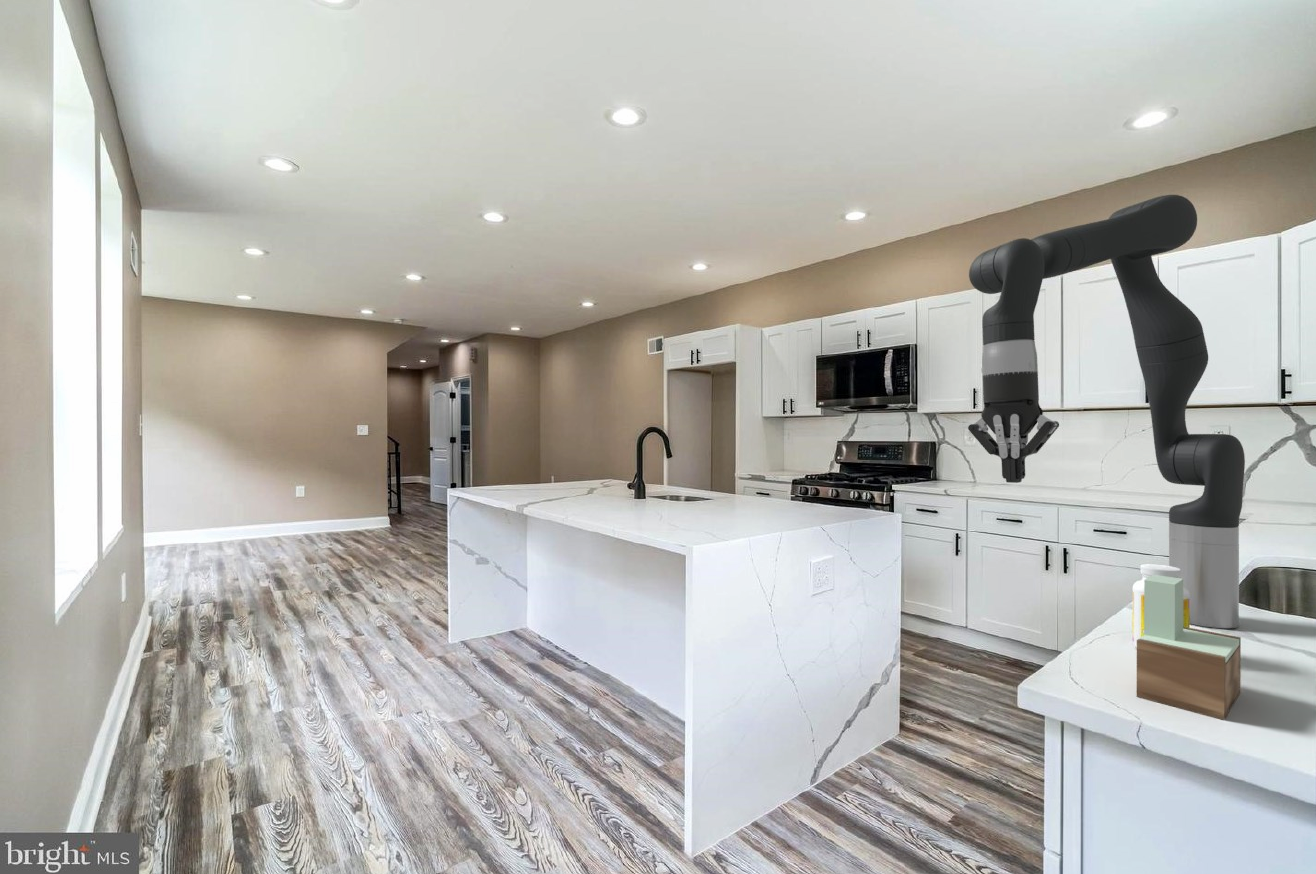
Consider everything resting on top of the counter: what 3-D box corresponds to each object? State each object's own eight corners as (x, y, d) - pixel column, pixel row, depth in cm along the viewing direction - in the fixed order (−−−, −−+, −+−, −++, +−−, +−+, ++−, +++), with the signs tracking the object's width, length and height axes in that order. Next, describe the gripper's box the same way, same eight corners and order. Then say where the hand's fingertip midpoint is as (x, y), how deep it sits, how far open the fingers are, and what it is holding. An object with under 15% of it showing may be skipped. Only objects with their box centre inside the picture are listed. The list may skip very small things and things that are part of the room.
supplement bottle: (1200, 661, 87) (1201, 572, 87) (1148, 658, 88) (1148, 570, 88) (1171, 646, 94) (1171, 563, 94) (1123, 643, 95) (1123, 561, 95)
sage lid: (1157, 629, 82) (1158, 572, 82) (1239, 644, 75) (1239, 583, 75) (1139, 644, 76) (1139, 582, 76) (1226, 662, 69) (1226, 595, 69)
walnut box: (1159, 673, 82) (1159, 622, 82) (1240, 692, 76) (1240, 637, 76) (1136, 696, 75) (1136, 640, 75) (1224, 720, 69) (1224, 658, 69)
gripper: (1066, 368, 91) (1071, 482, 91) (977, 377, 102) (981, 479, 102) (1047, 366, 87) (1051, 486, 87) (955, 375, 97) (959, 482, 97)
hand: (1013, 482), depth 94 cm, fingers closed
